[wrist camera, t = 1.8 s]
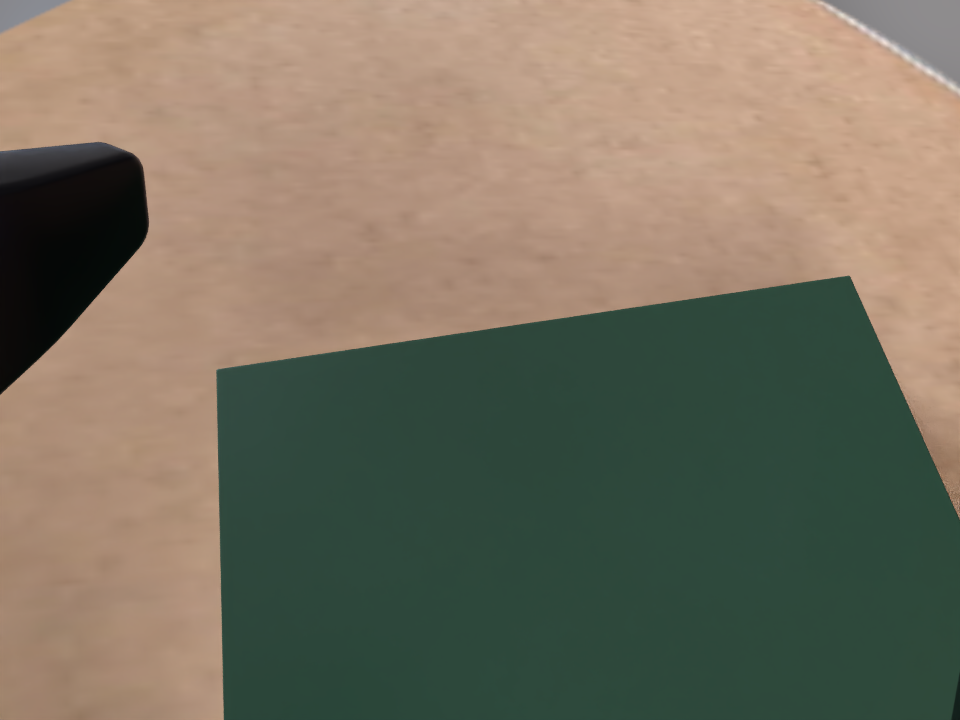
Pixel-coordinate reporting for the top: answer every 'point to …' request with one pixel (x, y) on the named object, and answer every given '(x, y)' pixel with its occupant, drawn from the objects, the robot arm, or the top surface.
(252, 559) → the book
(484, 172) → the top surface
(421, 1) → the top surface
